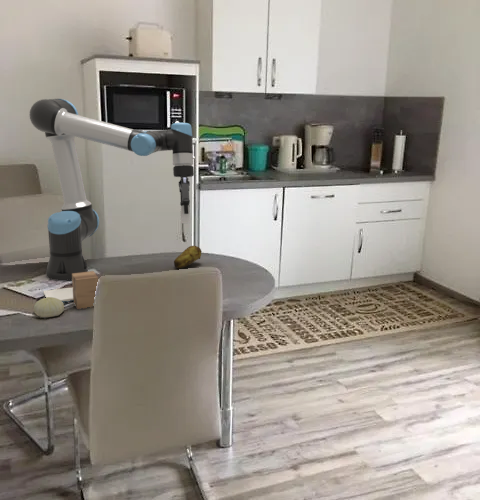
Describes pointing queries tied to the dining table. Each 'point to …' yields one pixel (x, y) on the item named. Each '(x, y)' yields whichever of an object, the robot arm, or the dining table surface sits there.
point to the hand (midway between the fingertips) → (185, 223)
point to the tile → (60, 294)
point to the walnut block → (84, 288)
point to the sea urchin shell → (48, 307)
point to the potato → (188, 257)
